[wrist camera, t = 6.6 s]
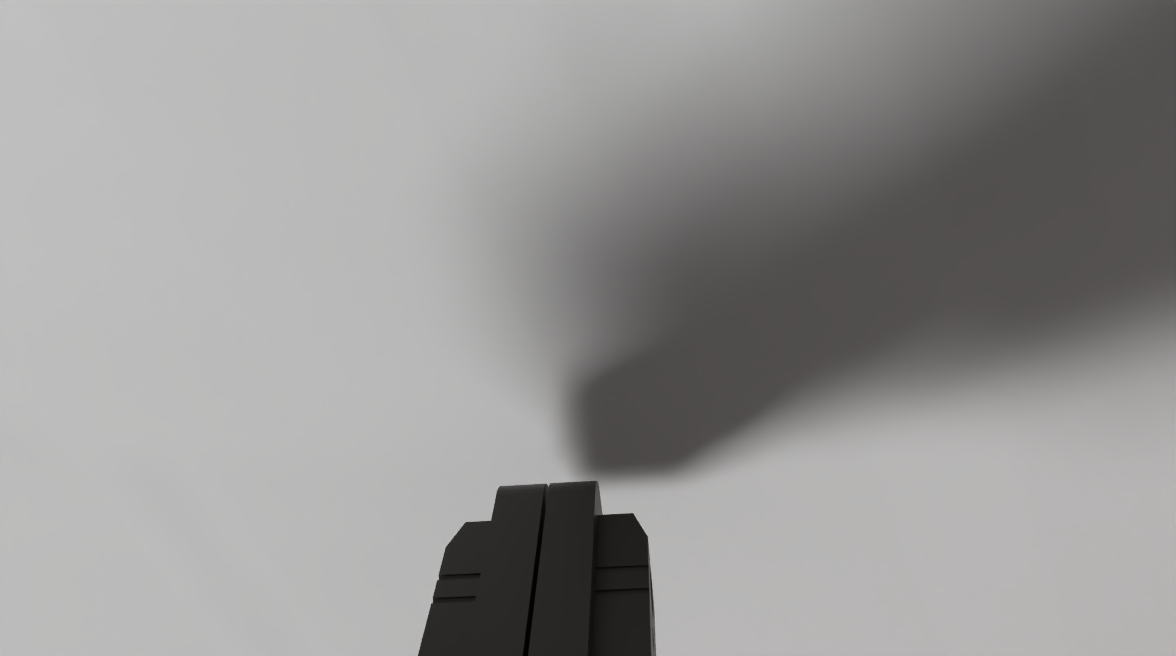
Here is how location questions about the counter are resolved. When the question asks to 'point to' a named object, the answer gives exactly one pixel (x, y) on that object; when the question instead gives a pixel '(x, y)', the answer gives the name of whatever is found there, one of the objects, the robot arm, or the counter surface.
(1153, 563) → the counter surface
